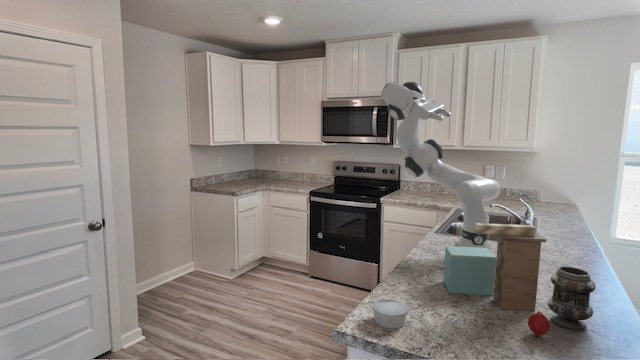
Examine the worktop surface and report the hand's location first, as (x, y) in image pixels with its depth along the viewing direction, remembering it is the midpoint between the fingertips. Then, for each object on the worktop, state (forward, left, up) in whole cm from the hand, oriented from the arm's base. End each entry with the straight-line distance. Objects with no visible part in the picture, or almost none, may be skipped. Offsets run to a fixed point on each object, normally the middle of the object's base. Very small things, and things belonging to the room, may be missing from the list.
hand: (446, 117), depth 148 cm
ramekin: (+42, -23, -67) cm, 83 cm away
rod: (+24, +17, -41) cm, 51 cm away
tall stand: (+24, +22, -67) cm, 74 cm away
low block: (+12, +9, -67) cm, 69 cm away
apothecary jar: (+35, +34, -67) cm, 83 cm away
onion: (+44, +21, -67) cm, 83 cm away
